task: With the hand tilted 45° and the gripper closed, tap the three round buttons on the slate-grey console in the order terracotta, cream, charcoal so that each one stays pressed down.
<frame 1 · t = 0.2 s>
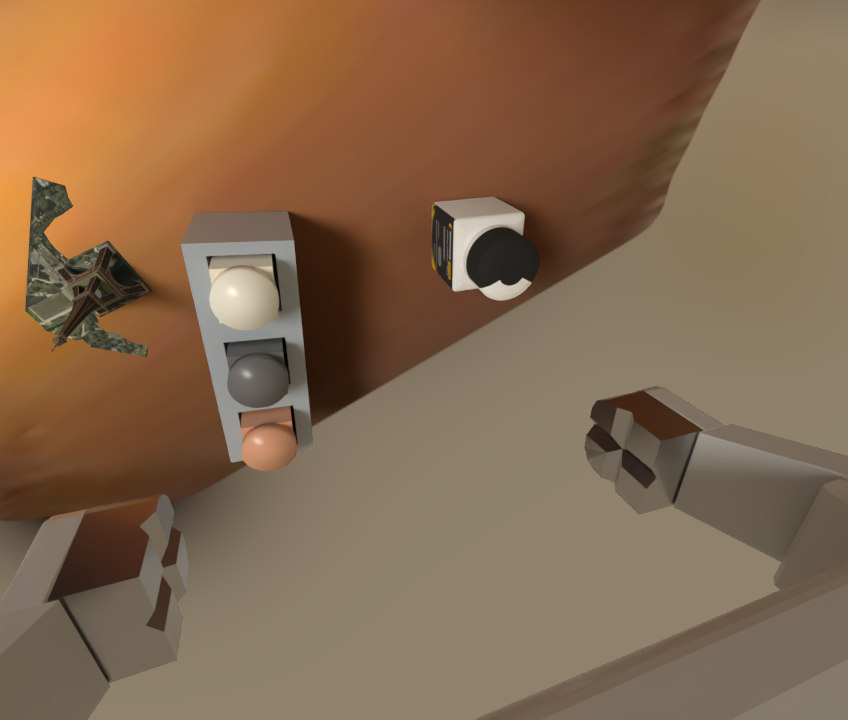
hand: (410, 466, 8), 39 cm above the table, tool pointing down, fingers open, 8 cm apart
button console: (258, 319, 47), on the table
eiffel tower figurine: (100, 273, 41), on the table
button cream: (246, 282, 36), point 8 cm above the table, slide at 0.0 cm
button terracotta: (269, 424, 44), point 8 cm above the table, slide at 0.0 cm
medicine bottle: (461, 231, 49), on the table
button charcoal: (258, 360, 40), point 8 cm above the table, slide at 0.0 cm
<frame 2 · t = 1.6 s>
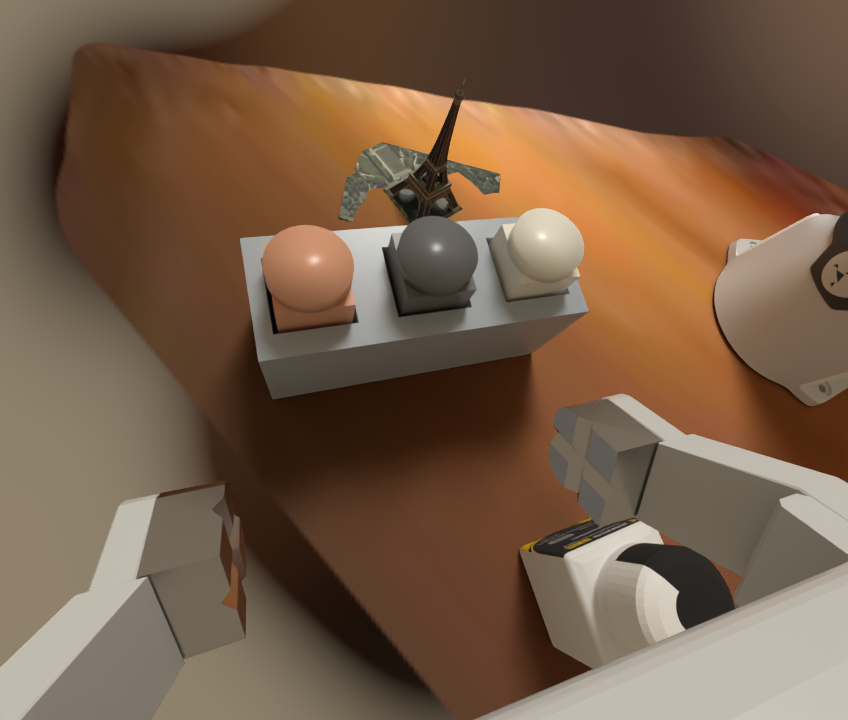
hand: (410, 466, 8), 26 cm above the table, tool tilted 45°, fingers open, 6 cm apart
button console: (402, 329, 37), on the table
eiffel tower figurine: (424, 200, 43), on the table
button cream: (523, 270, 32), point 8 cm above the table, slide at 0.0 cm
button terracotta: (310, 295, 28), point 8 cm above the table, slide at 0.0 cm
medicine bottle: (572, 578, 34), on the table
button charcoal: (424, 282, 30), point 8 cm above the table, slide at 0.0 cm
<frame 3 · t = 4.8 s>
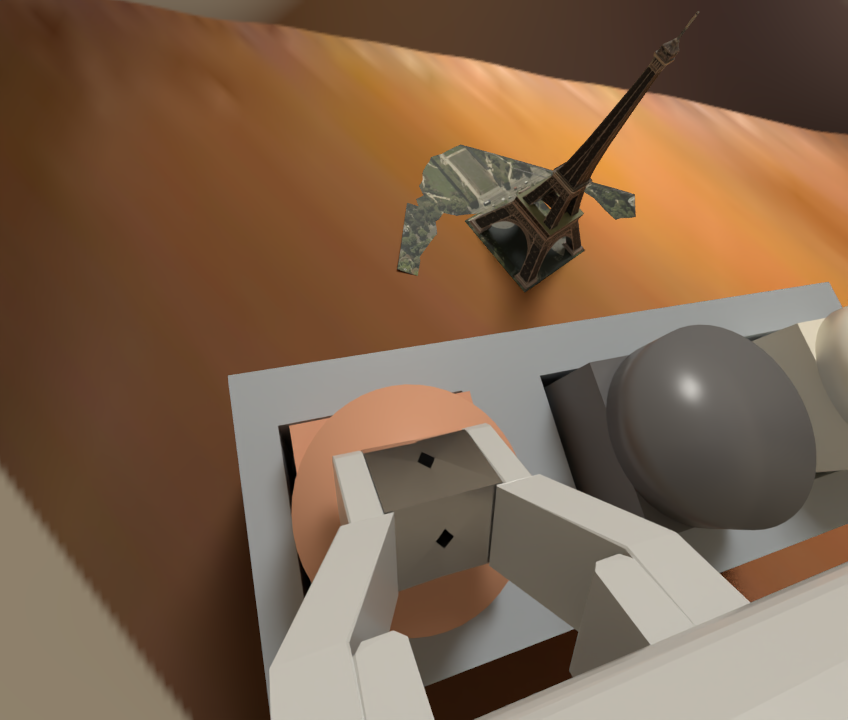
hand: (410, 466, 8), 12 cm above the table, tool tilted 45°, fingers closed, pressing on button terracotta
button console: (514, 468, 22), on the table
eiffel tower figurine: (524, 237, 27), on the table
button cream: (795, 400, 16), point 8 cm above the table, slide at 0.0 cm
button terracotta: (387, 504, 12), point 8 cm above the table, slide at 0.7 cm, touching gripper
button charcoal: (624, 443, 14), point 8 cm above the table, slide at 0.0 cm
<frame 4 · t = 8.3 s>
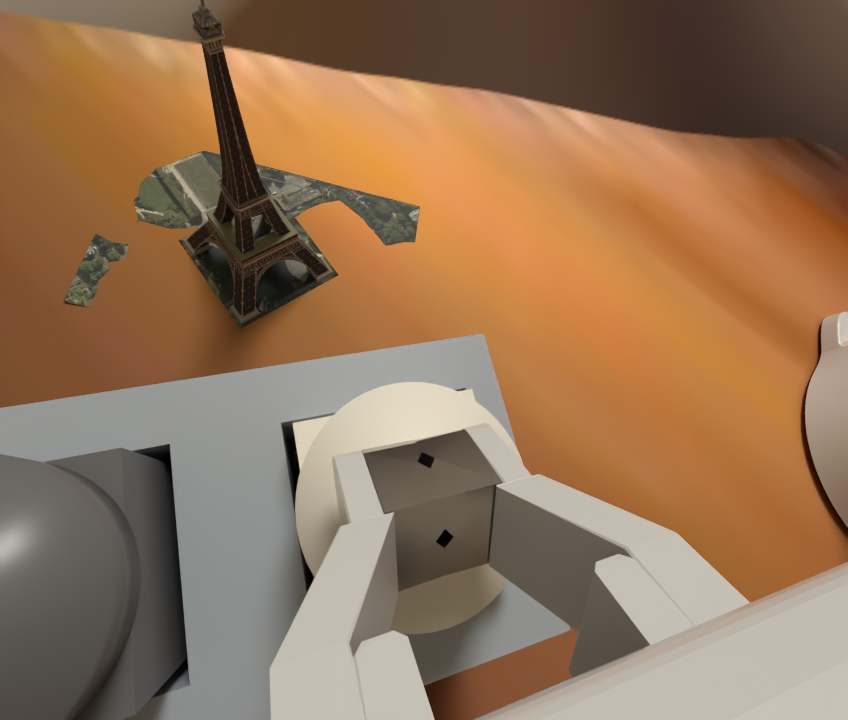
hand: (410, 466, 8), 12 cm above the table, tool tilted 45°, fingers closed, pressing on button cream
button console: (174, 554, 17), on the table
eiffel tower figurine: (268, 258, 23), on the table
button cream: (390, 501, 13), point 8 cm above the table, slide at 0.8 cm, touching gripper
button charcoal: (60, 586, 10), point 8 cm above the table, slide at 0.0 cm
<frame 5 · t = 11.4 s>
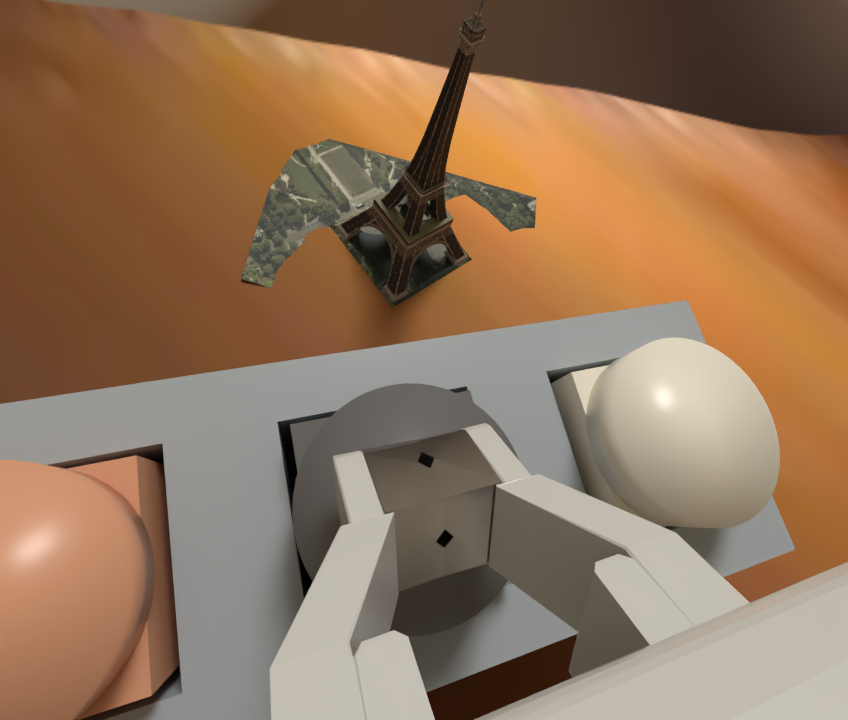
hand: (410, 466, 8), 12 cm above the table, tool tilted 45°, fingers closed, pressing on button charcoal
button console: (362, 507, 19), on the table
eiffel tower figurine: (405, 243, 25), on the table
button cream: (607, 447, 15), point 7 cm above the table, slide at 1.3 cm
button terracotta: (78, 582, 11), point 7 cm above the table, slide at 1.3 cm
button charcoal: (388, 503, 12), point 7 cm above the table, slide at 1.1 cm, touching gripper
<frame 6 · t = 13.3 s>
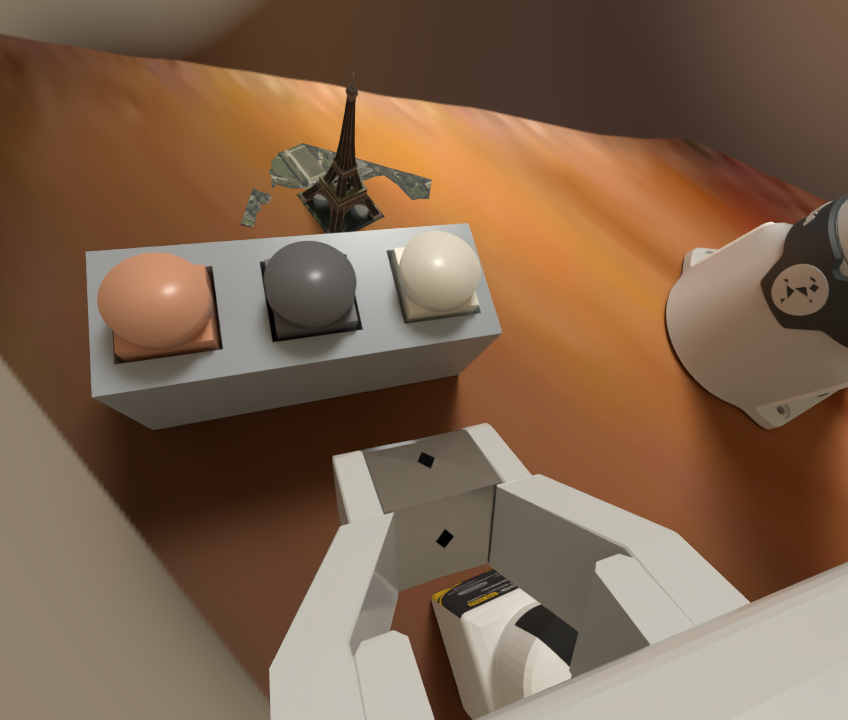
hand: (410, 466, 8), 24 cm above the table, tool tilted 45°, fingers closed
button console: (311, 349, 34), on the table
eiffel tower figurine: (343, 207, 40), on the table
button cream: (426, 295, 30), point 7 cm above the table, slide at 1.3 cm
button terracotta: (176, 326, 25), point 7 cm above the table, slide at 1.3 cm
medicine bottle: (491, 628, 31), on the table
button charcoal: (311, 310, 27), point 7 cm above the table, slide at 1.3 cm
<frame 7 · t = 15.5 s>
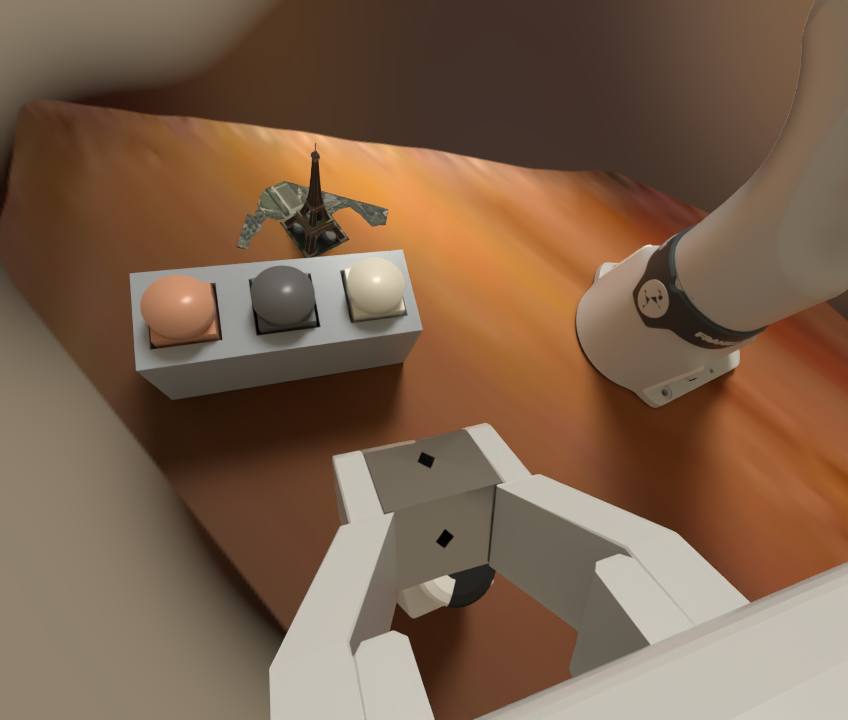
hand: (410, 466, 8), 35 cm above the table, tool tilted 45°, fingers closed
button console: (289, 342, 45), on the table
eiffel tower figurine: (317, 231, 51), on the table
button cream: (371, 302, 41), point 7 cm above the table, slide at 1.3 cm
button terracotta: (190, 324, 36), point 7 cm above the table, slide at 1.3 cm
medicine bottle: (420, 547, 42), on the table
button charcoal: (285, 313, 38), point 7 cm above the table, slide at 1.3 cm
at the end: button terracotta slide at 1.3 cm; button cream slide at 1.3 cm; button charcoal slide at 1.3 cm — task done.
